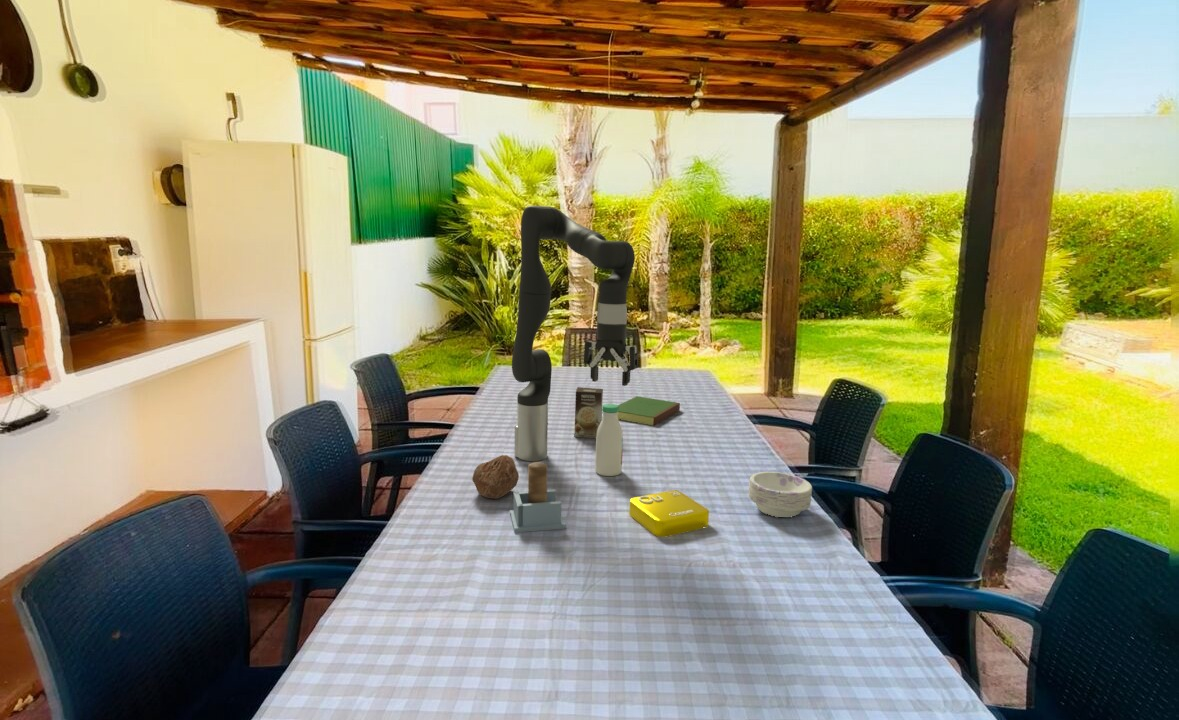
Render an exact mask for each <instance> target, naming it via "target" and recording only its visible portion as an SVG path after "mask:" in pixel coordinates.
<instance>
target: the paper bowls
mask: <svg viewBox="0 0 1179 720" xmlns="http://www.w3.org/2000/svg"><path fill="white" fill-rule="evenodd" d="M812 492H813V486H812V484H811V483H810V482H809V481H808V480H807V479H804V478H803V477H800V476H797V475H795V474H794V475H793V474H791V473H785V472H779V471H778V472H777V471H760V472H756V473H754V474H752V475H751V476H750V478H749V484H748V497H749V499H750V500H751V501H752V502H753V503H754V504H755V505H756V507H757V508H758V510H759V511H760V512H762V513H763V514H765V515H767V514H768V515H767V516H769V515H771V516H770V517H773V516H775V517H774V518H778V517H791V516H795V515H797V514H798V515H799V514H800V513H801V512H803V511H806V510H807V509H809V508H810V507H811V504H812V503H811V502H812ZM798 515H797V516H798ZM795 517H796V516H795ZM791 518H792V517H791Z"/></svg>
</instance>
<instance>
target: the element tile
mask: <svg viewBox="0 0 1179 720" xmlns="http://www.w3.org/2000/svg"><path fill="white" fill-rule="evenodd" d="M628 509H629V510H628V511H629V513H628V514H629V517H630V518H632V519H634V521H636V522H637V523H638V524H640V525H641V526H642V527H643V528H645V530H647V531H649V533H650V534H652V535H654V536H655V535H656V536H655V537H658V536H659V538H666V537H665V536H668V537H671V536H670V535H672V536H676V535H675V534H677V535H680V534H679V533H681V534H684V533H683V532H686V533H688V532H687V531H690V532H693V531H692V530H695V531H697V530H696V529H699V530H701V529H700V528H703V527H707V526H708V527H709V521H710V520H709V519H710V518H709V517H710V511H709V509H708V508H707V507H706V506H704V505H702V504H701V503H699V502H697V501H696V500H694V499H692V498H691V497H689V496H688V495H687V494H685V493H683V492H682V491H679V490H677V489H674V490H667V491H662V492H656V493H652V494H650V493H649V494H645V495H640V496H635V497H631V498H630V499H629V508H628ZM708 527H707V528H708Z"/></svg>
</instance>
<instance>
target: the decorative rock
mask: <svg viewBox="0 0 1179 720" xmlns="http://www.w3.org/2000/svg"><path fill="white" fill-rule="evenodd" d="M519 477H520V475H519V472H518V469H517V466H516V463H515V461H514V458H512V457H511V456H509V455H507V454H506V455H505V454H502V455H499V456H497V457H495V458H492V460H489V461H486V462H481V463H480V464H479V465H477V466H476V467H475V469H474V471H473V475H472V482H473V484H474V486H475V488H476V491H477V492H478V494H479V495H480V496H483V497H485V498H488V499H500V498H502V497H503V496H505V495H507V494H509V492H511V491H512V490H513V489H514V488H516V486H517V484H518V482H519Z"/></svg>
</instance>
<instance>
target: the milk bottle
mask: <svg viewBox="0 0 1179 720" xmlns="http://www.w3.org/2000/svg"><path fill="white" fill-rule="evenodd" d="M618 405H619V404H618ZM618 405H617V404H614V403H606V404H602V421H601V423H600V425H599V427H598V430H597V436H596V438H595V440H596V441H595V472H596V473H597V474H598V475H599V476H603V477H615V476H619V475H621V474H622V472H623V448H624V447H623V443H624V434H623V430H622V426H621V423H620V421H619V420H620V419H618V410H619V407H618Z"/></svg>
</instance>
